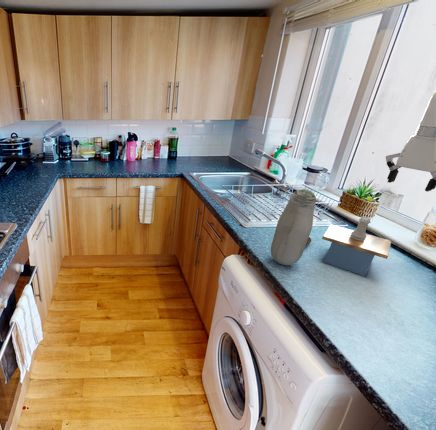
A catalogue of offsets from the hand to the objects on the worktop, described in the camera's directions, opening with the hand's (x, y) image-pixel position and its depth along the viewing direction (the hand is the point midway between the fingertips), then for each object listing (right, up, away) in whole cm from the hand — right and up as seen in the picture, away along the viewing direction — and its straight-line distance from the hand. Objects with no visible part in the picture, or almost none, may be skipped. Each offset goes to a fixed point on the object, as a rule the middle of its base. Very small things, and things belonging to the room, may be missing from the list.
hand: (408, 186), depth 94 cm
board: (-11, -19, +8) cm, 23 cm away
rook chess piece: (-10, -18, +8) cm, 22 cm away
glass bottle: (-35, -27, +11) cm, 46 cm away
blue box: (-11, -27, +12) cm, 32 cm away
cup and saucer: (-22, -20, +26) cm, 40 cm away
